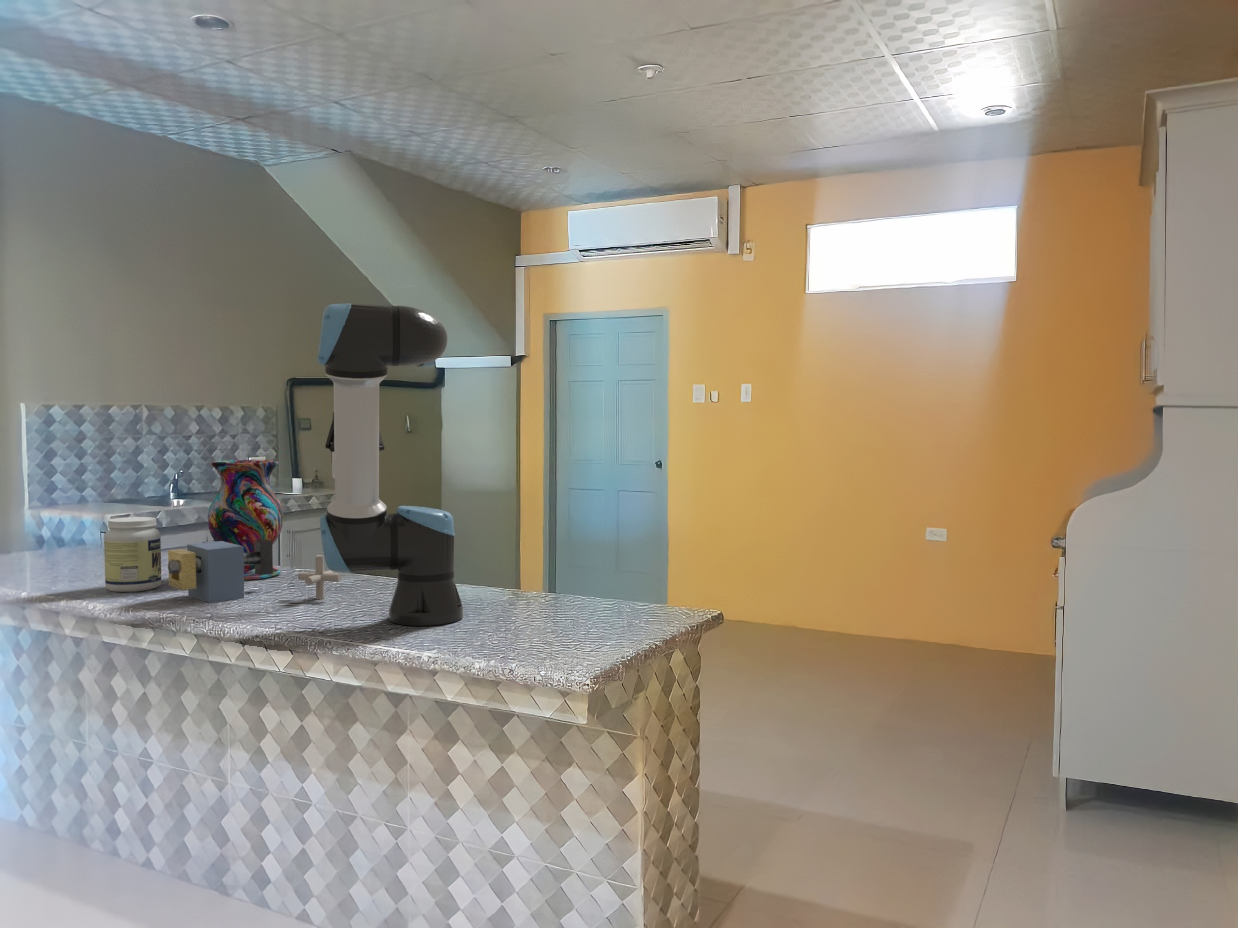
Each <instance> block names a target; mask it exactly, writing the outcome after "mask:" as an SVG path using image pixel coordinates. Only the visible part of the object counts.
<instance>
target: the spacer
mask: <svg viewBox="0 0 1238 928" xmlns="http://www.w3.org/2000/svg"><path fill="white" fill-rule="evenodd" d="M167 554H168V555H167V560H168V562H169V561H172V560H176V561H179V573H176V574H170V573H169V572H168V586H169V587H173V588H176V589H178V590H181V591H182V590H183V591H186V590H187V591H188V589H194V588H196V553H194V552H191V551H187V549H183V548H180V549H179V548H178V549H170V550H169V549H168V550H167Z"/></svg>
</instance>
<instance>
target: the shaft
mask: <svg viewBox="0 0 1238 928" xmlns="http://www.w3.org/2000/svg"><path fill="white" fill-rule="evenodd" d="M273 562H274V561H273V545H272V540H267V539H266V540H255V552H248V553H244V566H246V565H254V564H255V574H258V575H266V574H273V566H274V563H273ZM167 569H168V574H169V573H170V574H176V573H179V561H176V560H172V561H169V562H168V564H167ZM196 571H201V557H200V558H196Z"/></svg>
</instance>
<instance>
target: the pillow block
mask: <svg viewBox="0 0 1238 928" xmlns="http://www.w3.org/2000/svg"><path fill="white" fill-rule="evenodd" d="M186 546H187V549H186V550H187V551H191V552H194V553H196V558H200V557H201V571H196V588H194V589H187V593H188V594H187V595H188V597H189V596H190V597H192V598H194V599H198V600H200V601H203V602H205V603H208V604H211V603H218V602H225V601H233V600H239V599H245V580H244V549H243V546H240V545H236V544H232V543H228V542H224V541H217V542H215V541H208V542H197V543H188V544H187V545H186Z"/></svg>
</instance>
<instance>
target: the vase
mask: <svg viewBox="0 0 1238 928" xmlns="http://www.w3.org/2000/svg"><path fill="white" fill-rule="evenodd" d="M279 462H280V461H278V460H274V459H273V460H272V459H228V460H227V459H226V460H215V461H211V462H210V465H211V466H212V467H213V468H214V469H215V470H216V472H217V473H218V475H219V476H220V487H219V489H218V491H216V495H215V496H214V498H213V500H212V501H211V504H210V505H209V507H208V514H207V524H208V530H209V533H210V536H211V538H212V539H213V540H214V541H213V542H217V541H224V542H228V543H232V544H236V545H240V546H243V549H244V553H248V552H255V540H266V539H267V540H272V546H273V545H274V544H275V543H276V541H277V540H278V538H279V536H280V535H281V533H282V529H283V525H284V511H283V507H282V504H281V502H280V500H279V498H278V496H277V495H276V493H275V492H274V490H273V489H272V486H271V485H270V484H271V483H270V480H271V479H270V478H271V475H272V473H273V471H274V469H275V468H276V467H277V466H278V465H279ZM281 573H282V572H281V571H280V569H279V568H277V567H276V566H274V565H273V574H266V575H258V574H255V564H254V565H246V566H244V581H245V580H249V581H250V580H257V579H266V578H267V579H268V578H270V577H271V578H272V577H274V576H278V575H280V574H281Z"/></svg>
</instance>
